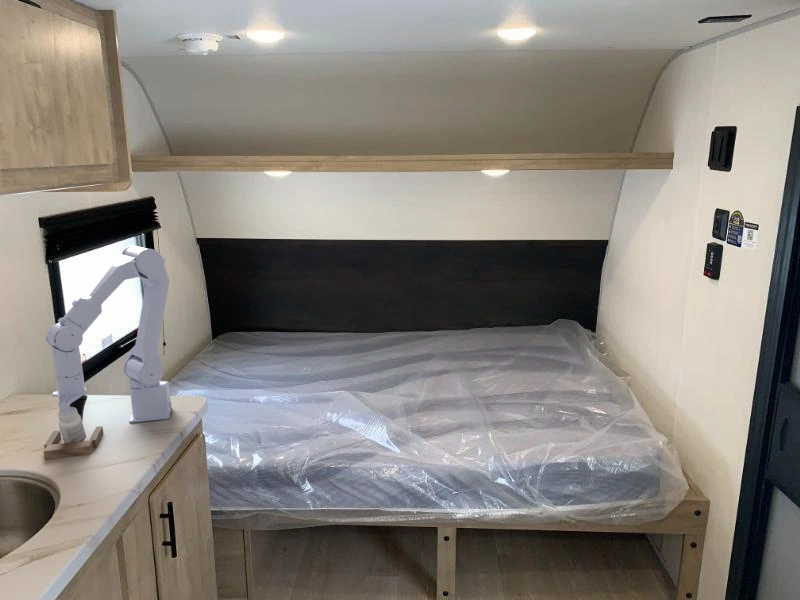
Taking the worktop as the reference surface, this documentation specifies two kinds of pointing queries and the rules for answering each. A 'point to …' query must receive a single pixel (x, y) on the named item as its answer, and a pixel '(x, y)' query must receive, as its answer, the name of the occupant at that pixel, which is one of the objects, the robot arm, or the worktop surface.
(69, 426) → the pill bottle
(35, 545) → the worktop surface
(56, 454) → the notched board
